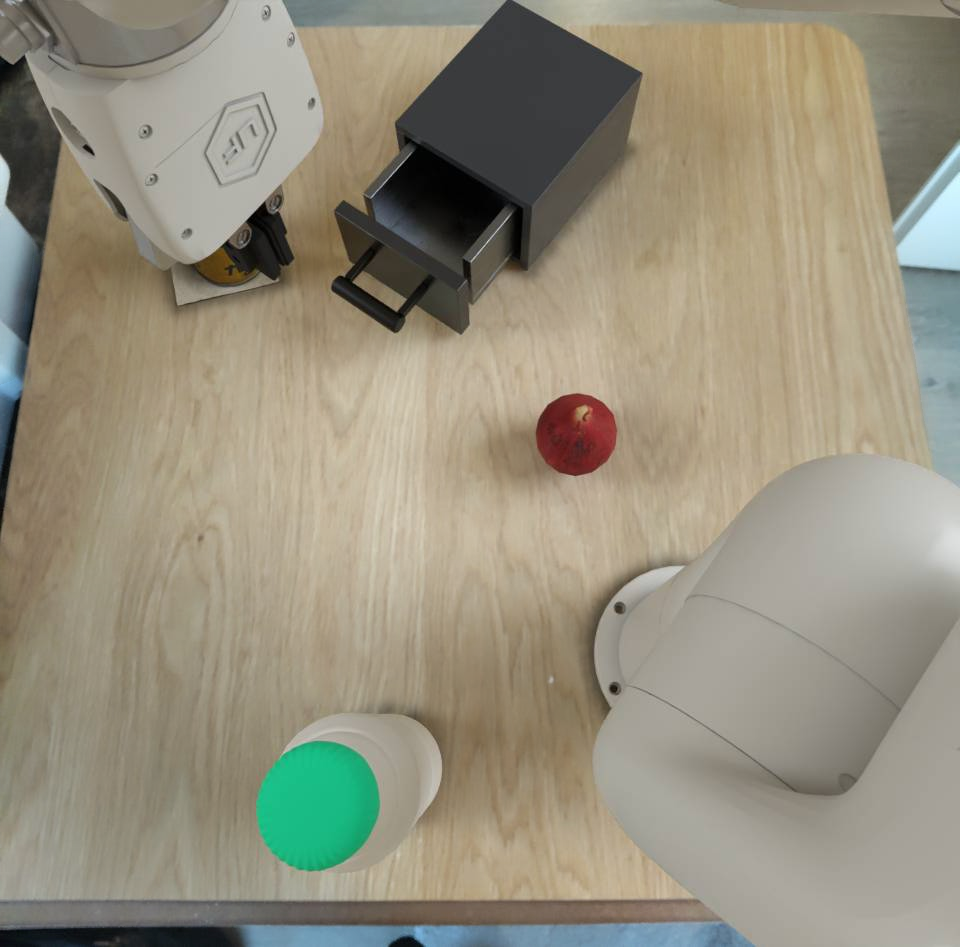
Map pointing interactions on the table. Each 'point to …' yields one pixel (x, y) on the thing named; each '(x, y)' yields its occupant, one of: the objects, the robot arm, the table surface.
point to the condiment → (213, 278)
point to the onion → (576, 434)
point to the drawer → (426, 239)
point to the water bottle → (348, 791)
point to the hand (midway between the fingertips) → (264, 256)
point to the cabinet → (528, 118)
